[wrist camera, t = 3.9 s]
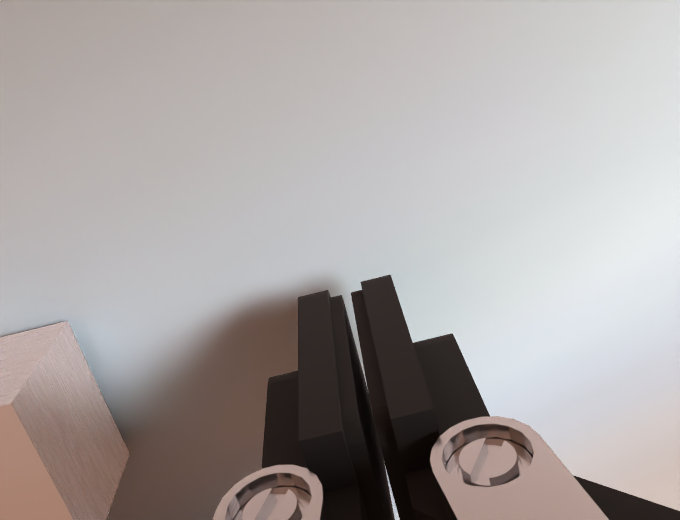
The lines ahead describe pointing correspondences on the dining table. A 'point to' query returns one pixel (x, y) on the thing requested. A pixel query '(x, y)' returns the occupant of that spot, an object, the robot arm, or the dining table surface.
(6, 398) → the key
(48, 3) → the dining table surface
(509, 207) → the dining table surface
